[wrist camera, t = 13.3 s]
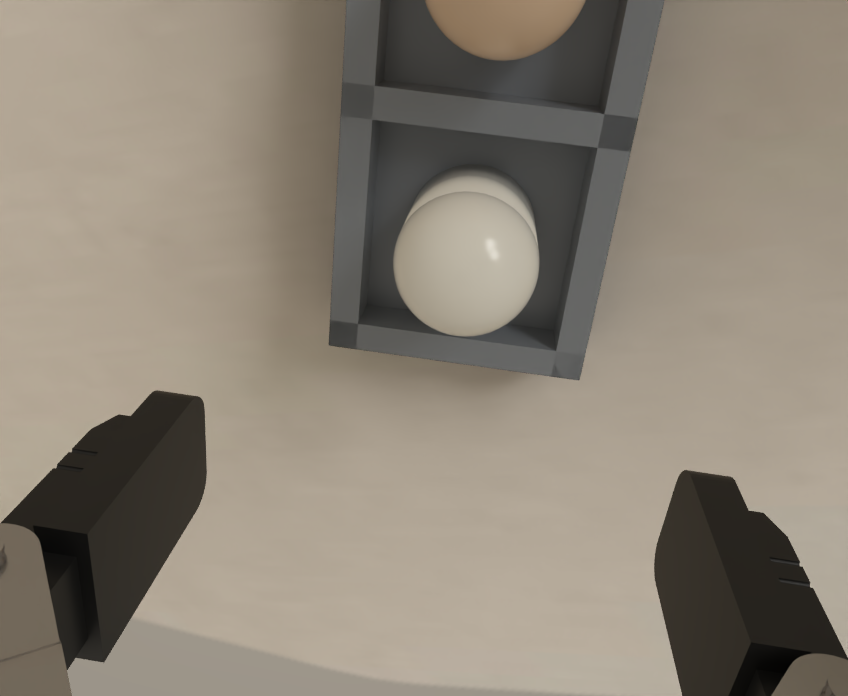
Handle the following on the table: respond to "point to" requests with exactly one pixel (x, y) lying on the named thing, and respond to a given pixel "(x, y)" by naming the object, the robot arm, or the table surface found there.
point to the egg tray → (492, 146)
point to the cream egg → (468, 251)
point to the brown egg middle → (504, 25)
